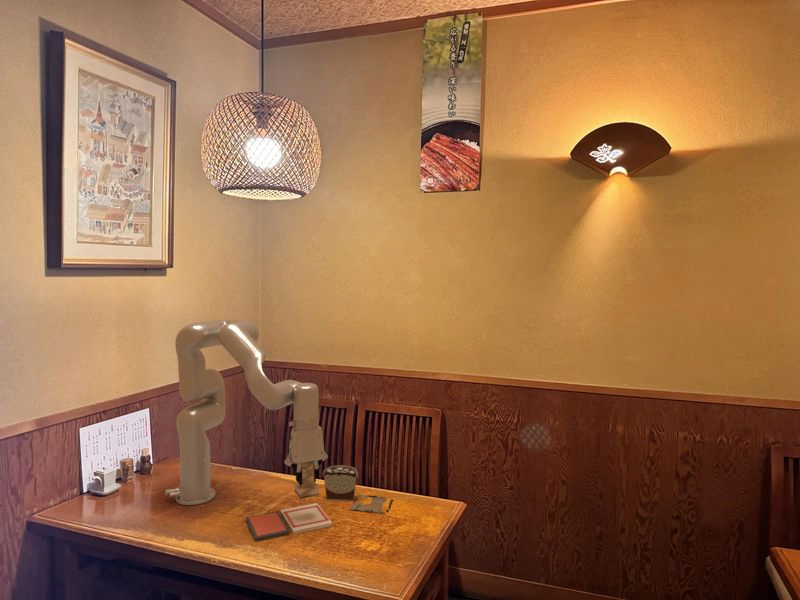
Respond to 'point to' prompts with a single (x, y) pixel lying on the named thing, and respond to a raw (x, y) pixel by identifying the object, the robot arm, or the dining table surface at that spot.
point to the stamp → (307, 482)
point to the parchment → (373, 506)
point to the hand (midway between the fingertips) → (306, 481)
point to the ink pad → (267, 526)
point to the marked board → (306, 518)
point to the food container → (340, 482)
